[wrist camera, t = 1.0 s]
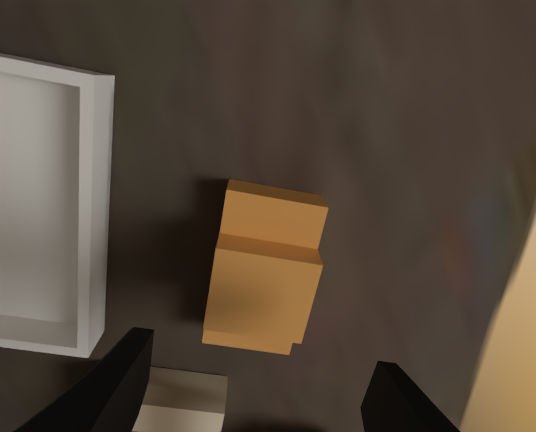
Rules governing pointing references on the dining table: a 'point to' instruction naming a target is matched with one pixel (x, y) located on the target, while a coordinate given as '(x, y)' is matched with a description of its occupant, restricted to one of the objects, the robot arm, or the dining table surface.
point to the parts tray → (53, 205)
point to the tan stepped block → (264, 268)
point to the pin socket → (182, 402)
